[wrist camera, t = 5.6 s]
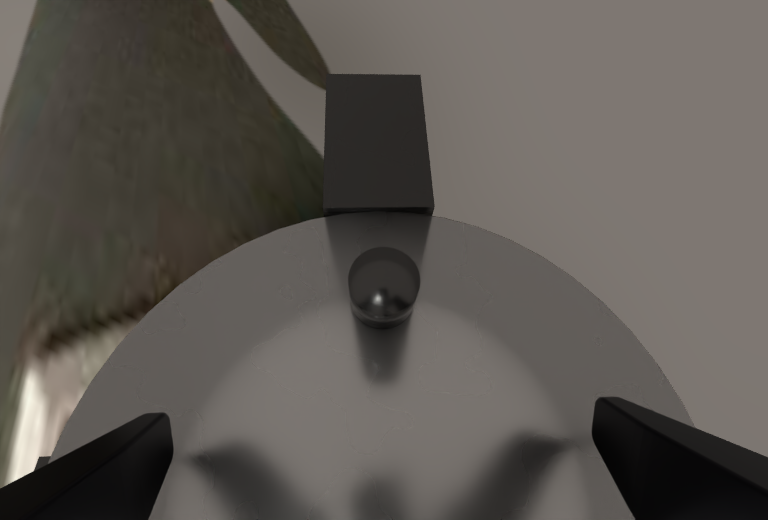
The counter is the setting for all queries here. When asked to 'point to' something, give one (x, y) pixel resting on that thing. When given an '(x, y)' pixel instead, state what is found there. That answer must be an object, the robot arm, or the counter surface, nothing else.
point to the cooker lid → (377, 357)
